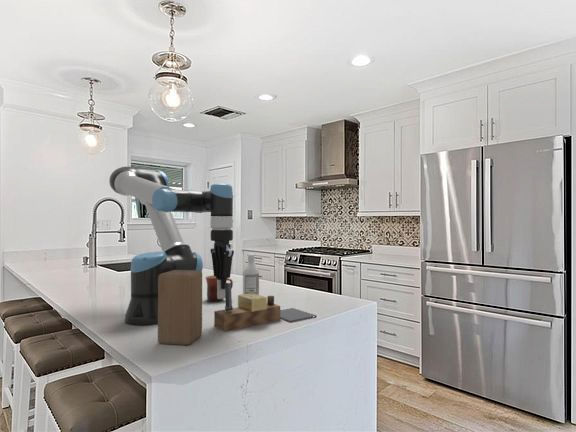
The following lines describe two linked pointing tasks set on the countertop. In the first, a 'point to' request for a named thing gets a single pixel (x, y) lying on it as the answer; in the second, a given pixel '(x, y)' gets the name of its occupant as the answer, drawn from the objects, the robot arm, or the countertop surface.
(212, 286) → the mug
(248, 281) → the bath foam
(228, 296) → the lever
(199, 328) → the block
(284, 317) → the mat
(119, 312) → the countertop surface
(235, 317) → the plane body
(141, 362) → the countertop surface
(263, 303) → the pale yellow block
